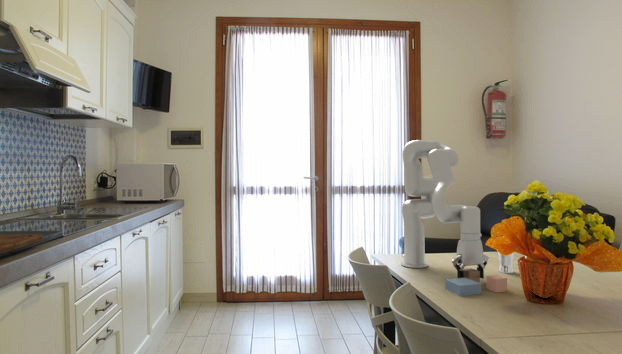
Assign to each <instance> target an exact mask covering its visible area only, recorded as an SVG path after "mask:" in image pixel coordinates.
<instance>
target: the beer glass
mask: <svg viewBox="0 0 622 354" xmlns="http://www.w3.org/2000/svg"><path fill="white" fill-rule="evenodd" d="M497 255H498V260H499V261H498V262H499V266H498V272H499V273H502V274H514V273H515V271H514V259H515V253H512V254H510V255H508V256H503V255H501V254H500V253H499V252H498V251H497Z"/></svg>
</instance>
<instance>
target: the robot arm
mask: <svg viewBox="0 0 622 354" xmlns="http://www.w3.org/2000/svg"><path fill="white" fill-rule="evenodd" d="M419 159H426V160H427V162H428V166H429V169H430V172H431V175H432V176H431V177H430V176H424V174H423V172H424V171H423V165H422V163H421V161H420V160H419ZM402 162H403V168H404V192H405V194H406V195H407V196H408V197H421V198H418V199H417V198H415V199H413V198H412V199H407V200H405V201H404V203H402V205H401V213H402V219H403V234H404V235H403V242H404V244H403V246H404V247H403V249H404V252H403V253H404V254H402V255H401V257H402V258H403V260H402V261H401V262H400V264H401V266H403V267H406V268H413V269H422V268H423V269H424V268H427V267H428V266H429V263H428V262H427V261H425V258H426V257H425V256H426V255H425V254H426V253H425V252H426V251H425V245H426V244H425V240H426V239H425V237H426V236H425V226H424V223H423V222H422V219H423V220H424V219H430V218H434V217H435V216H436V218H437V219H438V220H439V222H441V223H443V224H452V223H454V224H455V223H459V225H460V228H459V229H460V232H459V233H460V234H459V235H460V239H459V240H457V247H456V256H455V257H453V258H452V259H451V263H452V266H453V267H454V268H455V270H456V278H464V271H462V270H463V269H465V267H468V266H477V267H476V270H478V271H480V279H481V280H482V279H484V277H485V276H484V275H485V274H484V273H485V272H484V271H485V269H486V266H487V265H488V262H489V256H488V255H485V254H484V249H483V242H482V240H481V237H482V235H483V234H482V233H481V208H479V207H478V206H474V205H473V206H472V205H464V204H448V203H447V199H446V191H447V189H448V187H450V186H451V185H454V183H455V181H456V178H455V174H454V172H453V169H452V168H454V167H456V166H457V165H458V164H459V155H458V153H457V151H456V150H455V149H453V148H451V147H450V146H447V145H445V144H444V143H442V142H439V141H437V140H426V139H425V140H424V139H422V140H421V139H416V140H411V141H408V142H407V143H406V144H405V145H404V147H403V149H402Z"/></svg>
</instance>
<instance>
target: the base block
mask: <svg viewBox="0 0 622 354" xmlns="http://www.w3.org/2000/svg"><path fill="white" fill-rule="evenodd" d="M444 284H445V287H444V288H445V290H447V291H449V292H451V293H452V294H455V295H457V296H459V297H462V296H463V297H464V296H471V295H473V296H474V295H480V294H482V283H481V282H480V283H478V282H476V281H473V280H470V279H468V278H457V277H456V278H446V279H445V282H444Z"/></svg>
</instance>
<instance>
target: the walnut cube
mask: <svg viewBox="0 0 622 354" xmlns="http://www.w3.org/2000/svg"><path fill="white" fill-rule="evenodd" d="M462 271H464V278H468V279H470V280H473V281H476V282H478V283H481V278H480V271H478V270H477V269H475V268H472V267H471V268H470V267H469V268H464V269H463V270H462Z"/></svg>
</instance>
